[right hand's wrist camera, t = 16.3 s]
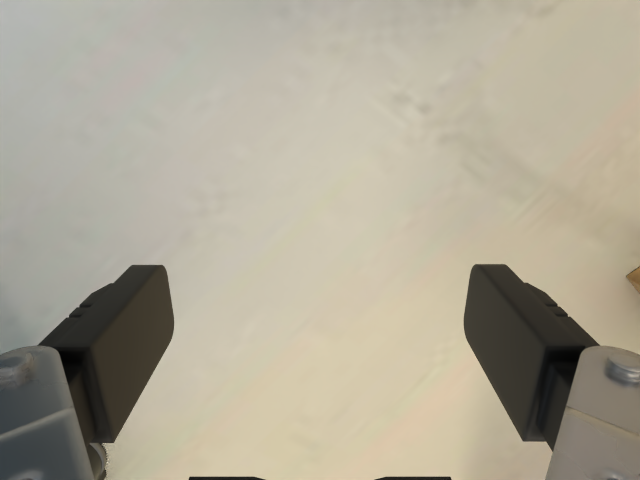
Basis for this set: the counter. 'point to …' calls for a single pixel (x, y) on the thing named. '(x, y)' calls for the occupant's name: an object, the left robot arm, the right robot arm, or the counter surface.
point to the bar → (635, 278)
